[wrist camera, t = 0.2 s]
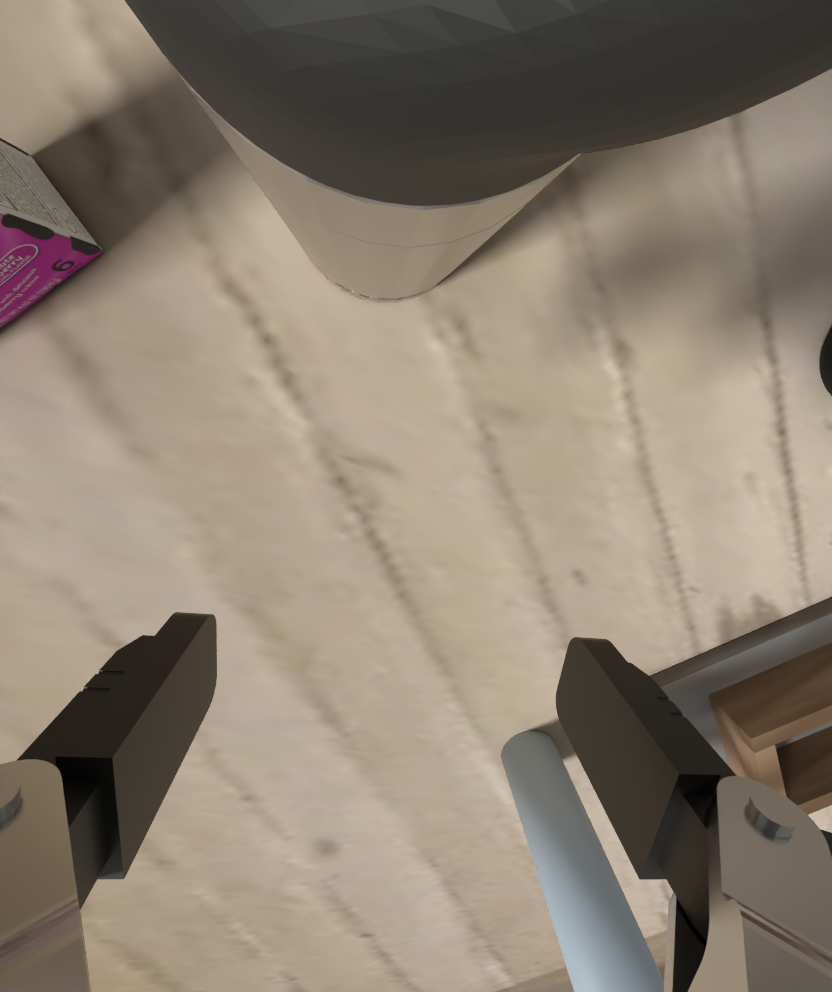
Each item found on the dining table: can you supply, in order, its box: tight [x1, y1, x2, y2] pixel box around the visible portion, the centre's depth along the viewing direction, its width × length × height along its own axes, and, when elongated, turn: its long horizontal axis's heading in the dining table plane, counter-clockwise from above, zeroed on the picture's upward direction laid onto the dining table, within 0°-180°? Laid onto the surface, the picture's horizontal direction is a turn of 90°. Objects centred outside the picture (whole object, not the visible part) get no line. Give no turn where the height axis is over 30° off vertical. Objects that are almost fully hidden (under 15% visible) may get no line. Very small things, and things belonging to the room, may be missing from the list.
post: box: [501, 731, 664, 992], centre depth 28 cm, size 4×4×16 cm
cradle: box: [650, 597, 832, 815], centre depth 34 cm, size 16×20×5 cm
